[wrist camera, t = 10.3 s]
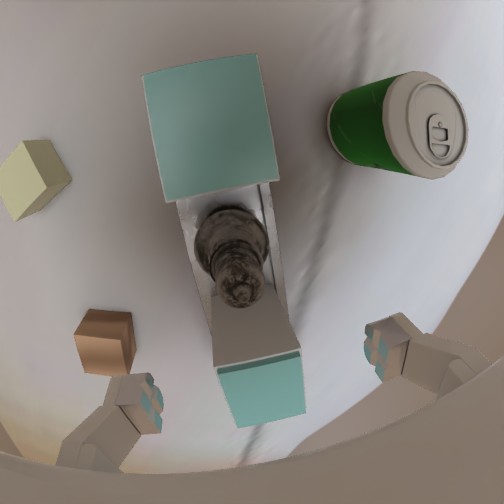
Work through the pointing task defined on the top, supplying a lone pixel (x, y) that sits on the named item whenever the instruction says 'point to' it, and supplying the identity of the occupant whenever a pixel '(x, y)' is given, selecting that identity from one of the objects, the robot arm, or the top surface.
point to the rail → (257, 205)
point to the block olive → (31, 178)
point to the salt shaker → (233, 254)
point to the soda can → (400, 126)
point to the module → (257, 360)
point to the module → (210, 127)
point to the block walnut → (106, 342)
